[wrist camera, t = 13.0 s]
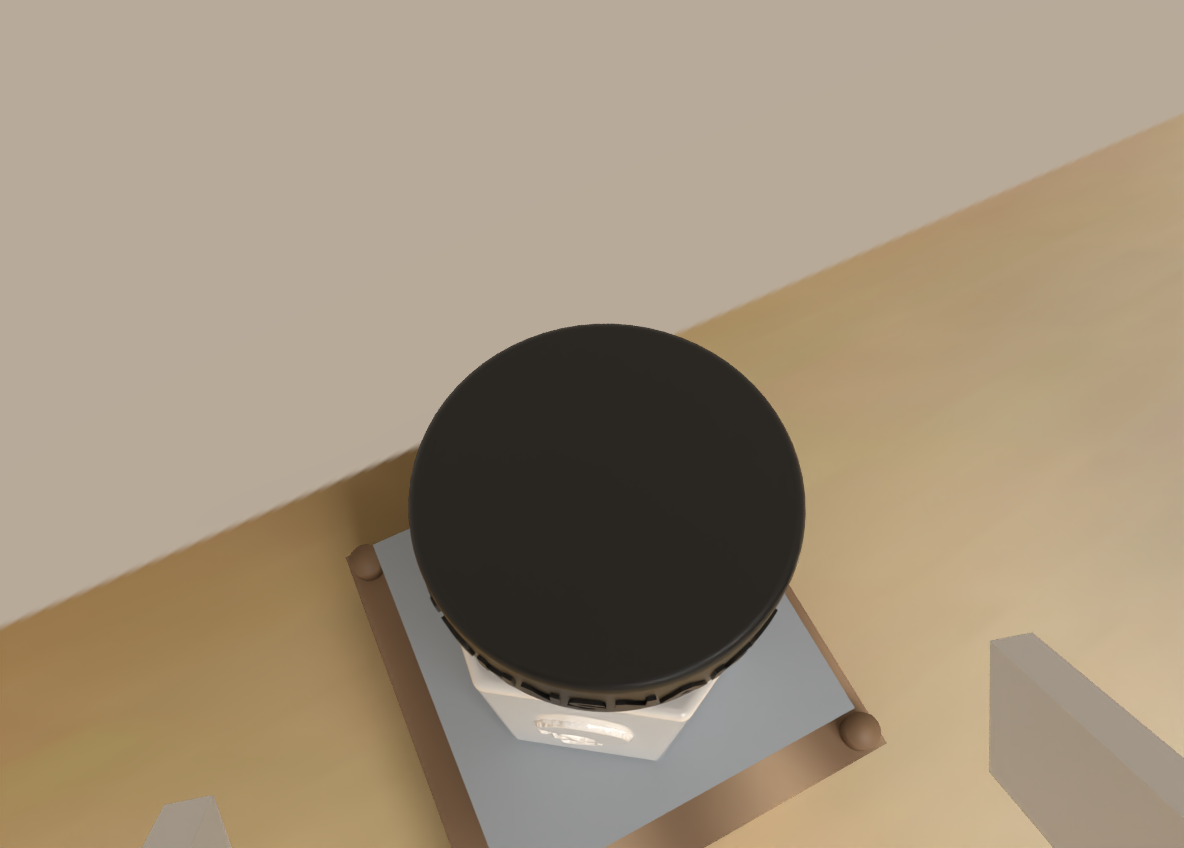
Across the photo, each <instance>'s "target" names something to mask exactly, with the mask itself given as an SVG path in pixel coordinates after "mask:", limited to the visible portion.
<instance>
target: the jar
mask: <svg viewBox="0 0 1184 848" xmlns="http://www.w3.org/2000/svg"><path fill="white" fill-rule="evenodd" d="M805 514H806V513H805V492H804V484H803V477H802V473H801V469H800V465H799V461H798V458H797V455H796V452H795V449H794V446H793V444H792V441H791V439H790V437H789V435H788V433H787V431H786V429H785V427H784V425H783V423H782V422H781V420H780V418H779V417H778V415H777V413H776V412H775V410H774V409H773V408H772V406H771V405H770V404H769V402H768V401H767V399H766V398H765V397H764V396H763V395H762V394H761V392H760V391H759V390H758V389H757V388H756V387H755V386H754V385H753V384H752V383H751V382H750V381H749V380H748V379H747V378H746V377H745V376H744V375H743V374H742V373H740V372H739V371H738V370H737V369H735V368H734V367H733V366H732V365H730V364H729V363H728V362H726V361H725V360H723V359H722V358H720V357H719V356H717V355H715V354H714V353H712V352H710V351H709V350H707V349H705V348H703V347H701V346H699V345H697V344H695V343H693V342H690V341H688V340H686V339H683V338H681V337H678V336H675V335H672V334H669V333H666V332H662V331H658V330H654V329H650V328H645V327H639V326H633V325H621V324H590V325H578V326H573V327H567V328H561V329H557V330H553V331H550V332H546V333H543V334H540V335H537V336H534V337H531V338H528V339H526V340H524V341H522V342H519V343H517V344H515V345H513V346H511V347H509V348H507V349H505V350H504V351H502V352H500V353H498V354H496V355H495V356H493V357H492V358H490V359H489V360H488V361H486V362H485V363H483V364H482V365H481V366H479V367H478V368H477V369H476V370H474V371H473V372H472V373H471V374H469V376H467V377H466V378H465V379H464V380H463V381H462V382H461V383H460V384H459V385H458V386H457V387H456V388H455V390H454V391H453V392H452V393H451V394H450V395H449V397H448V398H447V399H446V400H445V402H444V403H443V405H442V406H441V407H440V409H439V410H438V412H437V413H436V414H435V416H434V418H433V420H432V422H431V423H430V425H429V427H428V429H427V431H426V433H425V435H424V438H423V440H422V442H421V444H420V447H419V450H418V453H417V456H416V459H415V462H414V467H413V471H412V476H411V481H410V491H409V526H410V535H411V540H412V545H413V550H414V554H415V557H416V561H417V564H418V567H419V569H420V572H421V574H422V577H423V579H424V581H425V583H426V586H427V589H428V592H429V594H430V596H431V597H429V598H430V600H431V602H432V603H433V605H434V607H435V608H436V610H437V611H438V613H439V612H441V611H442V613H443V614H444V616H443V617H441V618H442V620H443V622H444V623H445V624H446V626H447V627H448V629H449V630H450V632H451V633H452V634H453V636H454V637H455V638H456V640H457V641H458V642H459V643H460V645H461V648H462V652H463V655H464V658H465V661H466V664H467V667H468V670H469V673H470V677H471V680H472V683H473V685H474V687H475V688H476V689H477V691H478V692H479V693H480V694H481V696H482V697H483V698H484V700H485V701H486V702H487V703H488V705H489V706H490V707H491V708H492V710H493V711H494V712H495V714H496V715H497V716H498V717H499V719H500V720H501V721H502V722H503V724H504V725H505V726H506V728H507V729H508V730H509V731H510V733H511V734H512V735H513V736H514V737H515V738H516V739H519V740H525V741H531V742H538V743H544V744H550V745H557V746H563V747H570V748H576V749H583V750H589V751H595V752H602V753H608V754H615V755H621V756H628V757H634V758H640V759H647V760H658V759H660V758H661V757H662V756H663V754H664V753H665V752H666V750H667V749H668V748H669V746H670V745H671V744H672V742H673V741H674V740H675V738H676V737H677V736H678V734H679V733H680V732H681V730H682V729H683V727H684V726H685V725H686V723H687V722H688V721H689V719H690V718H691V717H692V715H693V714H694V712H695V711H696V710H697V708H698V707H699V705H700V704H701V702H702V701H703V700H704V698H705V697H706V695H707V694H708V692H709V691H710V689H711V688H712V687H713V685H714V684H715V682H716V681H717V679H718V678H719V676H720V675H721V674H722V673H723V672H724V671H725V670H726V669H727V668H729V667H730V666H731V665H733V664H734V663H735V662H737V661H738V660H739V659H740V658H741V657H742V656H743V655H744V654H745V653H746V652H747V650H748V649H749V648H750V647H752V645H753V644H754V643H755V642H756V641H757V639H758V638H759V637H760V636H761V634H762V633H763V632H764V630H765V629H766V628H767V626H768V625H769V624H770V622H771V621H772V619H773V618H774V616H775V614H776V613H777V611H778V610H777V609H776V607H777V605H778V604H779V602H780V601H781V599H782V597H783V595H784V593H785V592H786V590H787V588H788V585H789V583H790V581H791V579H792V577H793V574H794V571H795V568H796V566H797V564H798V562H799V555H800V552H801V547H802V542H803V537H804V529H805Z"/></svg>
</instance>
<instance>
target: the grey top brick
mask: <svg viewBox="0 0 1184 848" xmlns="http://www.w3.org/2000/svg"><path fill="white" fill-rule="evenodd" d="M373 547H374V549H375V552H376V555H377V557H378V560H379V562H380V565H381V568H382V570H383V573H384V575H385V578H386V581H387V583H388V586H389V588H390V591H391V594H392V596H393V599H394V602H395V604H396V607H397V609H398V612H399V615H400V617H401V620H402V622H403V625H404V628H405V630H406V633H407V635H408V638H409V641H410V643H411V646H412V648H413V651H414V654H415V656H416V659H417V661H418V664H419V667H420V669H421V672H422V674H423V677H424V680H425V682H426V685H427V687H428V690H429V693H430V695H431V698H432V701H433V703H434V706H435V708H436V711H437V714H438V716H439V719H440V721H441V724H442V727H443V729H444V732H445V734H446V737H447V740H448V742H449V745H450V747H451V750H452V753H453V755H454V758H455V760H456V763H457V766H458V768H459V771H460V773H461V776H462V779H463V781H464V784H465V787H466V789H467V792H468V794H469V797H470V800H471V802H472V805H473V807H474V810H475V813H476V815H477V818H478V820H479V823H480V826H481V828H482V831H483V833H484V836H485V839H486V841H487V844H488V846H489V848H605V847H606V846H608V845H610V844H612V843H614V842H615V841H617V840H619V839H621V838H623V837H624V836H626V835H628V834H630V833H632V832H633V831H635V830H637V829H639V828H641V827H642V826H644V825H646V824H648V823H650V822H651V821H653V820H655V819H657V818H658V817H660V816H662V815H664V814H666V813H667V812H669V811H671V810H673V809H675V808H676V807H678V806H680V805H682V804H684V803H685V802H687V801H689V800H691V799H693V798H694V797H696V796H698V795H700V794H702V793H703V792H705V791H707V790H709V789H711V788H712V787H714V786H716V785H718V784H720V783H721V782H723V781H725V780H727V779H728V778H730V777H732V776H734V775H736V774H737V773H739V772H741V771H743V770H745V769H746V768H748V767H750V766H752V765H754V764H755V763H757V762H759V761H761V760H763V759H764V758H766V757H768V756H770V755H772V754H773V753H775V752H777V751H779V750H781V749H782V748H784V747H786V746H788V745H789V744H791V743H793V742H795V741H797V740H798V739H800V738H802V737H804V736H806V735H807V734H809V733H811V732H813V731H815V730H816V729H818V728H820V727H822V726H824V725H825V724H827V723H829V722H831V721H833V720H834V719H836V718H838V717H840V716H842V715H843V714H845V713H847V712H849V711H851V710H852V709H854V708H855V707H854V706H853V704H852V702H851V701H850V699H849V698H848V696H847V694H846V693H845V691H844V689H843V688H842V686H841V685H840V683H839V681H838V680H837V678H836V676H835V675H834V673H833V671H832V670H831V668H830V667H829V665H828V663H827V662H826V660H825V658H824V657H823V655H822V654H821V652H820V650H819V649H818V647H817V645H816V644H815V642H814V640H813V639H812V637H811V636H810V634H809V632H808V631H807V629H806V627H805V626H804V624H803V622H802V621H801V619H800V618H799V616H798V614H797V613H796V611H795V609H794V608H793V606H792V605H791V603H790V601H789V600H788V598H787V596H786V595H785V593H784V595H783V597H782V599H781V601H780V602H779V604H778V605H777V607H776V609H777V610H778V611H777V613H776V614H775V616H774V618H773V619H772V621H771V622H770V624H769V625H768V626H767V628H766V629H765V630H764V632H763V633H762V634H761V636H760V637H759V638H758V639H757V641H756V642H755V643H754V644H753V645H752V647H750V648H749V649H748V650H747V652H746V653H745V654H744V655H743V656H742V657H741V658H740V659H739V660H738V661H737V662H735V663H734V664H733V665H731V666H730V667H729V668H727V669H726V670H725V671H724V672H723V673H722V674H721V675H720V676H719V678H718V679H717V681H716V682H715V684H714V685H713V687H712V688H711V689H710V691H709V692H708V694H707V695H706V697H705V698H704V700H703V701H702V702H701V704H700V705H699V707H698V708H697V710H696V711H695V712H694V714H693V715H692V717H691V718H690V719H689V721H688V722H687V723H686V725H685V726H684V727H683V729H682V730H681V732H680V733H679V734H678V736H677V737H676V738H675V740H674V741H673V742H672V744H671V745H670V746H669V748H668V749H667V750H666V752H665V753H664V754H663V756H662V757H661V758H660V759H658V760H647V759H640V758H634V757H628V756H621V755H615V754H608V753H602V752H595V751H589V750H583V749H576V748H570V747H563V746H557V745H550V744H544V743H538V742H531V741H525V740H519V739H516V738H515V737H514V736H513V735H512V734H511V733H510V731H509V730H508V729H507V728H506V726H505V725H504V724H503V722H502V721H501V720H500V719H499V717H498V716H497V715H496V714H495V712H494V711H493V710H492V708H491V707H490V706H489V705H488V703H487V702H486V701H485V700H484V698H483V697H482V696H481V694H480V693H479V692H478V691H477V689H476V688H475V687H474V685H473V683H472V680H471V677H470V673H469V670H468V667H467V664H466V661H465V658H464V655H463V652H462V648H461V645H460V643H459V642H458V641H457V640H456V638H455V637H454V636H453V634H452V633H451V632H450V630H449V629H448V627H447V626H446V624H445V623H444V622H443V620H442V618H441V617H443V616H444V614H443V613H442V611H441V612H439V613H438V611H437V610H436V608H435V607H434V605H433V603H432V602H431V600H430V598H429V597H431V596H430V594H429V592H428V589H427V586H426V583H425V581H424V579H423V577H422V574H421V572H420V569H419V567H418V564H417V561H416V557H415V554H414V550H413V545H412V540H411V535H410V528H409V529H407V530H405V531H403V532H400V533H398V534H396V535H394V536H391V537H389V538H387V539H385V540H382V541H380V542H378V543H376V544H373Z"/></svg>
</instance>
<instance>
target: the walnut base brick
mask: <svg viewBox="0 0 1184 848" xmlns="http://www.w3.org/2000/svg"><path fill="white" fill-rule="evenodd" d="M346 559H347V562H348V565H349V568H350V570H351V573H352V576H353V579H354V581H355V584H356V587H357V589H358V592H359V595H360V598H361V600H362V603H363V606H364V609H365V611H366V614H367V617H368V620H369V622H370V625H371V628H372V631H373V633H374V636H375V639H376V642H377V644H378V647H379V650H380V653H381V655H382V658H383V661H384V663H385V666H386V669H387V672H388V674H389V677H390V680H391V683H392V685H393V688H394V691H395V694H396V696H397V699H398V702H399V705H400V707H401V710H402V713H403V716H404V718H405V721H406V724H407V726H408V729H409V732H410V735H411V737H412V740H413V743H414V746H415V748H416V751H417V754H418V757H419V759H420V762H421V765H422V768H423V770H424V773H425V776H426V779H427V781H428V784H429V787H430V790H431V792H432V795H433V798H434V800H435V803H436V806H437V809H438V811H439V814H440V817H441V820H442V822H443V825H444V828H445V831H446V833H447V836H448V839H449V842H450V844H451V847H452V848H489V846H488V844H487V841H486V839H485V836H484V833H483V831H482V828H481V826H480V823H479V820H478V818H477V815H476V813H475V810H474V807H473V805H472V802H471V800H470V797H469V794H468V792H467V789H466V787H465V784H464V781H463V779H462V776H461V773H460V771H459V768H458V766H457V763H456V760H455V758H454V755H453V753H452V750H451V747H450V745H449V742H448V740H447V737H446V734H445V732H444V729H443V727H442V724H441V721H440V719H439V716H438V714H437V711H436V708H435V706H434V703H433V701H432V698H431V695H430V693H429V690H428V687H427V685H426V682H425V680H424V677H423V674H422V672H421V669H420V667H419V664H418V661H417V659H416V656H415V654H414V651H413V648H412V646H411V643H410V641H409V638H408V635H407V633H406V630H405V628H404V625H403V622H402V620H401V617H400V615H399V612H398V609H397V607H396V604H395V602H394V599H393V596H392V594H391V591H390V588H389V586H388V583H387V581H386V578H385V575H384V573H383V570H382V568H381V565H380V562H379V560H378V557H377V555H376V552H375V549H374V547H373V545H369V544H366V545H361V546H359V547H357V548H356V549H355V550H354V551H353V552H352V553H351V555H350V556H348V557H346ZM785 595H786V596H787V598H788V600H789V601H790V603H791V605H792V606H793V608H794V609H795V611H796V613H797V614H798V616H799V618H800V619H801V621H802V622H803V624H804V626H805V627H806V629H807V631H808V632H809V634H810V636H811V637H812V639H813V640H814V642H815V644H816V645H817V647H818V649H819V650H820V652H821V654H822V655H823V657H824V658H825V660H826V662H827V663H828V665H829V667H830V668H831V670H832V671H833V673H834V675H835V676H836V678H837V680H838V681H839V683H840V685H841V686H842V688H843V689H844V691H845V693H846V694H847V696H848V698H849V699H850V701H851V702H852V704H853V706H854V707H855V708H854V709H852V710H851V711H849V712H847V713H845V714H843V715H842V716H840V717H838V718H836V719H834V720H833V721H831V722H829V723H827V724H825V725H824V726H822V727H820V728H818V729H816V730H815V731H813V732H811V733H809V734H807V735H806V736H804V737H802V738H800V739H798V740H797V741H795V742H793V743H791V744H789V745H788V746H786V747H784V748H782V749H781V750H779V751H777V752H775V753H773V754H772V755H770V756H768V757H766V758H764V759H763V760H761V761H759V762H757V763H755V764H754V765H752V766H750V767H748V768H746V769H745V770H743V771H741V772H739V773H737V774H736V775H734V776H732V777H730V778H728V779H727V780H725V781H723V782H721V783H720V784H718V785H716V786H714V787H712V788H711V789H709V790H707V791H705V792H703V793H702V794H700V795H698V796H696V797H694V798H693V799H691V800H689V801H687V802H685V803H684V804H682V805H680V806H678V807H676V808H675V809H673V810H671V811H669V812H667V813H666V814H664V815H662V816H660V817H658V818H657V819H655V820H653V821H651V822H650V823H648V824H646V825H644V826H642V827H641V828H639V829H637V830H635V831H633V832H632V833H630V834H628V835H626V836H624V837H623V838H621V839H619V840H617V841H615V842H614V843H612V844H610V845H608V846H606V847H605V848H704V847H706V846H708V845H710V844H711V843H713V842H715V841H717V840H718V839H720V838H722V837H724V836H725V835H727V834H729V833H731V832H732V831H734V830H736V829H738V828H739V827H741V826H743V825H745V824H746V823H748V822H750V821H752V820H753V819H755V818H757V817H759V816H760V815H762V814H764V813H766V812H767V811H769V810H771V809H773V808H774V807H776V806H778V805H779V804H781V803H783V802H785V801H786V800H788V799H790V798H792V797H793V796H795V795H797V794H799V793H800V792H802V791H804V790H806V789H807V788H809V787H811V786H813V785H814V784H816V783H818V782H820V781H821V780H823V779H825V778H827V777H828V776H830V775H832V774H834V773H835V772H837V771H839V770H841V769H842V768H844V767H846V766H848V765H849V764H851V763H853V762H855V761H856V760H858V759H860V758H862V757H863V756H865V755H867V754H869V753H870V752H872V751H874V750H875V749H877V748H879V747H881V746H882V745H884V744H886V741H885V739H884V738H883V736H882V735H881V729H880V726H879V723H878V722H877V720H876V719H875V718H874V717H873V716H872V715H870V714H868V712H867V710H866V709H865V707H864V705H863V704H862V702H861V701H860V699H859V697H858V696H857V694H856V692H855V691H854V689H853V688H852V686H851V684H850V683H849V681H848V680H847V678H846V676H845V675H844V673H843V671H842V670H841V668H840V667H839V665H838V663H837V662H836V660H835V659H834V657H833V655H832V654H831V652H830V650H829V649H828V647H827V646H826V644H825V642H824V641H823V639H822V637H821V636H820V634H819V633H818V631H817V629H816V628H815V626H814V625H813V623H812V621H811V620H810V618H809V616H808V615H807V613H806V612H805V610H804V608H803V607H802V605H801V603H800V602H799V600H798V599H797V597H796V595H795V594H794V592H793V591H792V589H791V587H790V586H789V585H788V588H787V590H786V592H785Z"/></svg>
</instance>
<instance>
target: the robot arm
mask: <svg viewBox="0 0 1184 848" xmlns="http://www.w3.org/2000/svg"><path fill="white" fill-rule="evenodd" d="M989 772H990V773H991V775H992V776H993V777H994V778H995V779H996V780H997V782H998V783H999V784H1000V785H1001V786H1002V788H1003V789H1004V790H1005V791H1006V792H1007V793H1008V795H1009V796H1010V797H1011V798H1012V799H1013V801H1014V802H1015V803H1016V804H1017V805H1018V806H1019V808H1020V809H1021V810H1022V811H1023V812H1024V814H1025V815H1026V816H1027V817H1028V818H1029V819H1030V821H1031V822H1032V823H1033V824H1034V825H1035V826H1036V828H1037V829H1038V830H1039V831H1040V832H1041V834H1042V835H1043V836H1044V837H1045V838H1046V839H1047V841H1048V842H1049V843H1050V844H1051V845H1052V847H1053V848H1184V758H1183V757H1182V756H1181V755H1179V754H1178V753H1177V752H1176V751H1175V750H1173V749H1172V748H1171V747H1170V746H1168V745H1167V744H1166V743H1165V742H1164V741H1162V740H1161V739H1160V738H1159V737H1158V736H1156V735H1155V734H1154V733H1153V732H1152V731H1150V730H1149V729H1148V728H1147V727H1146V726H1144V725H1143V724H1142V723H1141V722H1140V721H1138V720H1137V719H1136V718H1135V717H1134V716H1132V715H1131V714H1130V713H1129V712H1127V711H1126V710H1125V709H1124V708H1123V707H1121V706H1120V705H1119V704H1118V703H1117V702H1115V701H1114V700H1113V699H1112V698H1111V697H1109V696H1108V695H1107V694H1106V693H1105V692H1103V691H1102V690H1101V689H1100V688H1099V687H1097V686H1096V685H1095V684H1094V683H1093V682H1091V681H1090V680H1089V679H1088V678H1087V677H1085V676H1084V675H1083V674H1082V673H1080V672H1079V671H1078V670H1077V669H1076V668H1074V667H1073V666H1072V665H1071V664H1070V663H1068V662H1067V661H1066V660H1065V659H1064V658H1062V657H1061V656H1060V655H1059V654H1058V653H1056V652H1055V651H1054V650H1053V649H1052V648H1050V647H1049V646H1048V645H1047V644H1046V643H1044V642H1043V641H1042V640H1041V639H1039V638H1038V637H1037V636H1036V635H1035V634H1033V633H1027V634H1022V635H1017V636H1012V637H1007V638H1002V639H997V640H992V641H990V722H989ZM142 848H232V847H231V844H230V842H229V839H228V836H227V833H226V830H225V827H224V824H223V821H222V818H221V816H220V813H219V810H218V807H217V804H216V801H215V798H214V795H211V796H206V797H201V798H196V799H191V800H186V801H181V802H176V803H171V804H166V805H164V807H163V809H162V810H161V812H160V814H159V816H158V818H157V820H156V822H155V824H154V826H153V828H152V830H151V831H150V833H149V835H148V837H147V839H146V841H145V843H144V845H143V847H142Z"/></svg>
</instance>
